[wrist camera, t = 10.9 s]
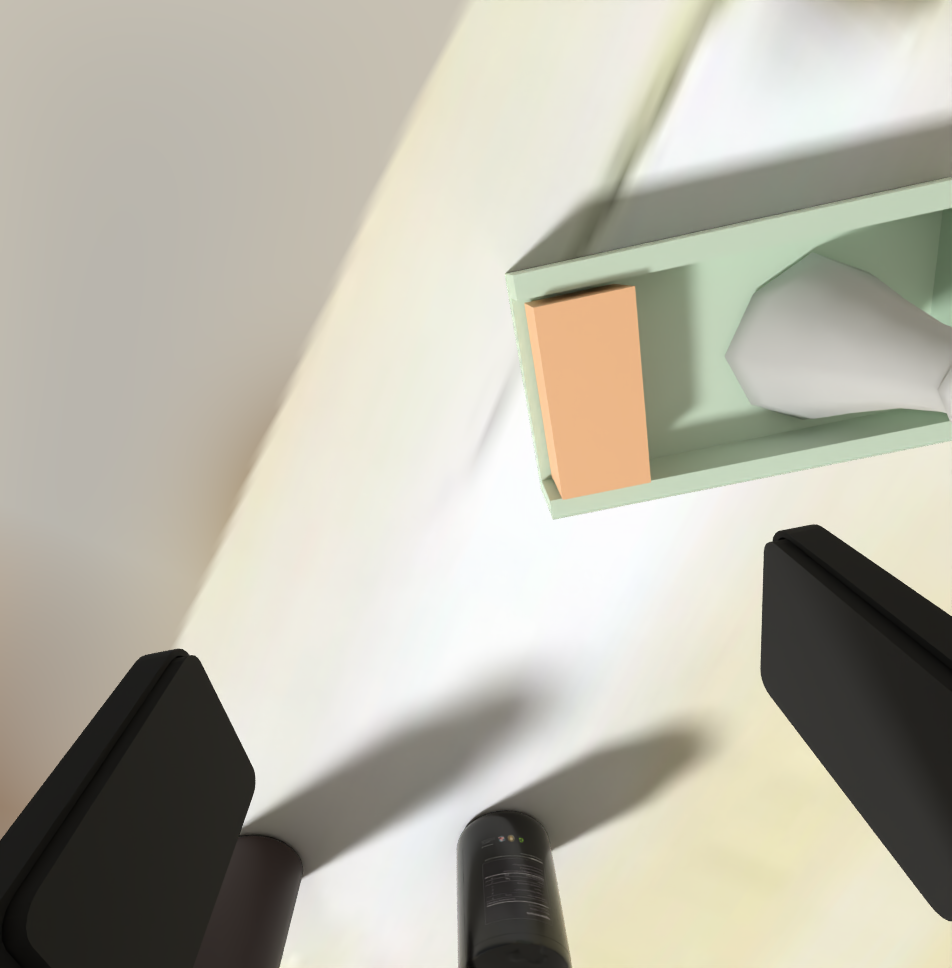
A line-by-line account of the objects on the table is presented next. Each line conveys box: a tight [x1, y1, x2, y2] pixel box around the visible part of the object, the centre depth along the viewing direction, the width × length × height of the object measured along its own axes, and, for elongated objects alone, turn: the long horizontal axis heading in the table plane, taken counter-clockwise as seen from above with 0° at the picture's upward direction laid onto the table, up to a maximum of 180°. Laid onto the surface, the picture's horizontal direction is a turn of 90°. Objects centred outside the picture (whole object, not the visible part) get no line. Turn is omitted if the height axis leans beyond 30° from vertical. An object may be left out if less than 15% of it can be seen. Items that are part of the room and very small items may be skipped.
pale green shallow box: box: [505, 177, 952, 520], centre depth 25 cm, size 20×11×4 cm, turn 101°
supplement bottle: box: [457, 811, 572, 968], centre depth 34 cm, size 7×7×12 cm
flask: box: [725, 252, 952, 423], centre depth 20 cm, size 7×7×10 cm
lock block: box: [524, 284, 651, 500], centre depth 24 cm, size 4×8×3 cm, turn 11°
